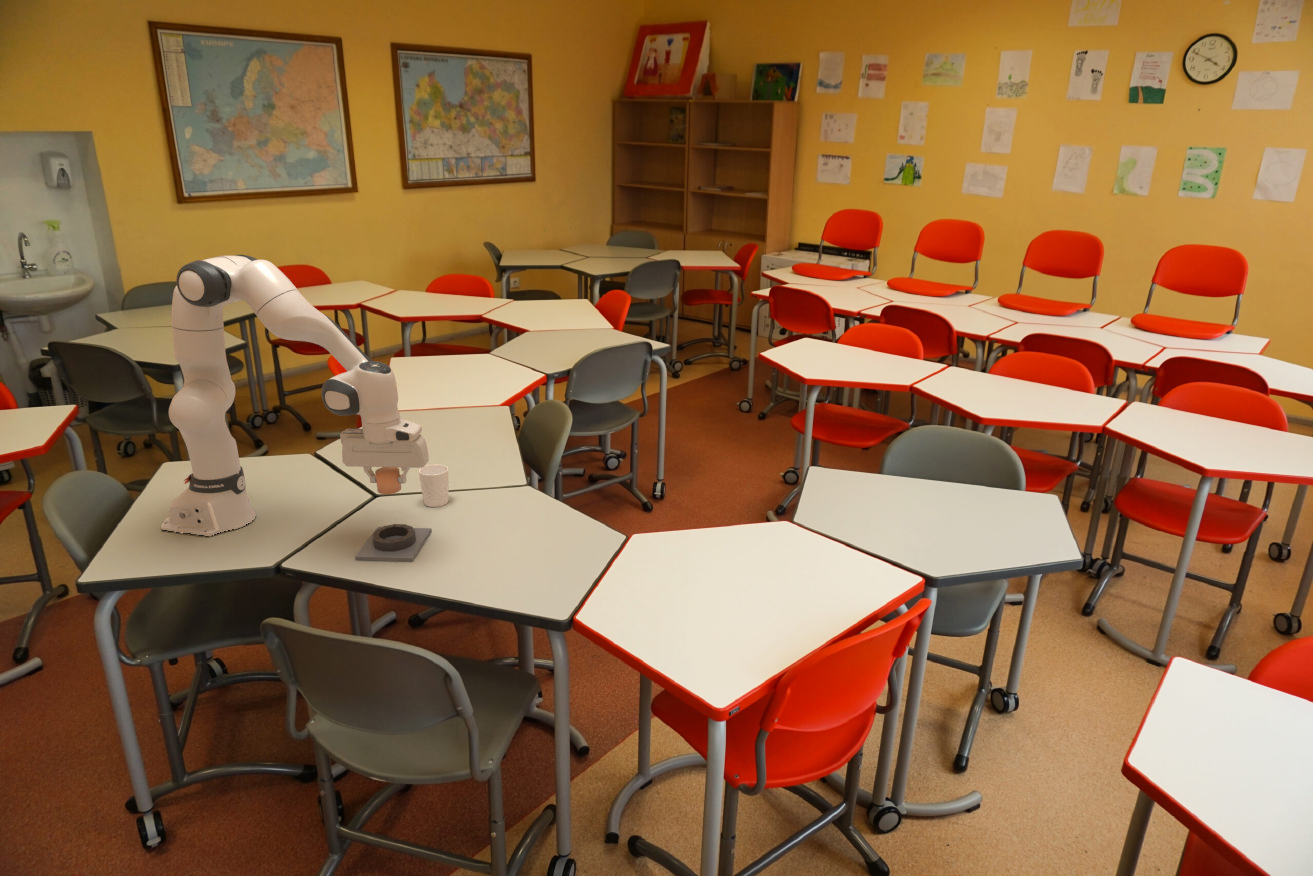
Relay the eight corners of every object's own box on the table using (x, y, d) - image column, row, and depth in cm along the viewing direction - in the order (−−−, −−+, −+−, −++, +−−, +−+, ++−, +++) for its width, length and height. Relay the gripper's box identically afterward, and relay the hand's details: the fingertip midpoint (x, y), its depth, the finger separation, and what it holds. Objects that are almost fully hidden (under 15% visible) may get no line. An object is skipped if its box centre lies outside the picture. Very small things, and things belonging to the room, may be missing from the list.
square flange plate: (355, 560, 197) (353, 547, 196) (378, 530, 212) (377, 518, 211) (412, 561, 197) (411, 549, 196) (431, 531, 212) (430, 519, 210)
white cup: (434, 510, 224) (430, 477, 220) (416, 503, 228) (412, 470, 224) (456, 501, 229) (453, 468, 226) (438, 494, 234) (435, 462, 230)
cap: (374, 494, 197) (371, 475, 195) (382, 484, 202) (379, 466, 200) (396, 494, 197) (394, 475, 195) (404, 485, 202) (402, 466, 200)
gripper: (333, 433, 191) (341, 486, 196) (420, 434, 190) (425, 488, 195) (344, 424, 197) (351, 476, 202) (427, 425, 196) (433, 478, 201)
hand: (388, 482), depth 199 cm, fingers closed on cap, 6 cm apart
